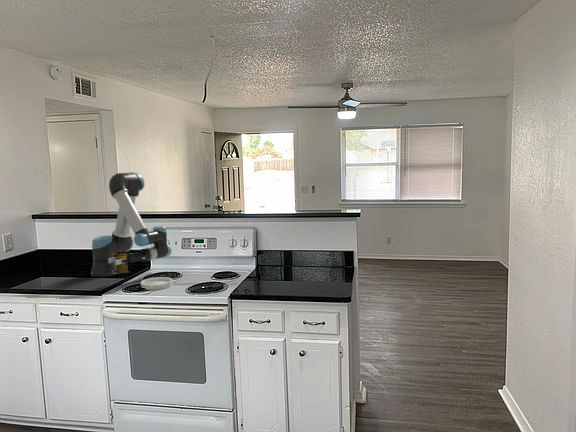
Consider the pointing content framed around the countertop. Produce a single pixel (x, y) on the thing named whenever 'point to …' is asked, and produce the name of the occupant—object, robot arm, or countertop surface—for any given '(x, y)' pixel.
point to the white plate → (157, 283)
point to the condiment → (121, 267)
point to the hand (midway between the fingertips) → (112, 261)
